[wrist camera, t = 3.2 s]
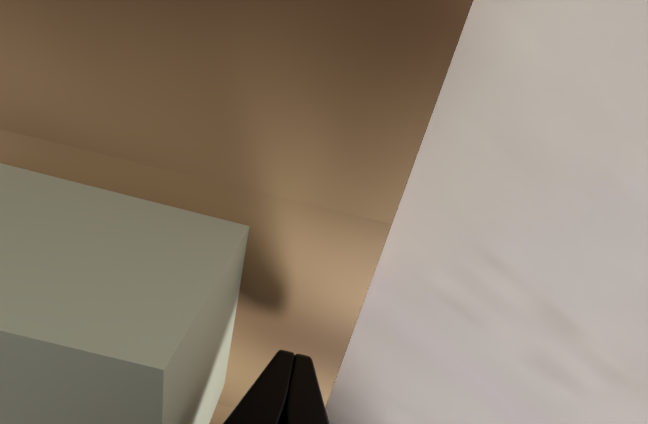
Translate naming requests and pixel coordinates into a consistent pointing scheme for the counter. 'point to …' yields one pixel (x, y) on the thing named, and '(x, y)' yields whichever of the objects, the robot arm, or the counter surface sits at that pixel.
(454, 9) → the toy board
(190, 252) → the block
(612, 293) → the counter surface
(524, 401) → the counter surface
